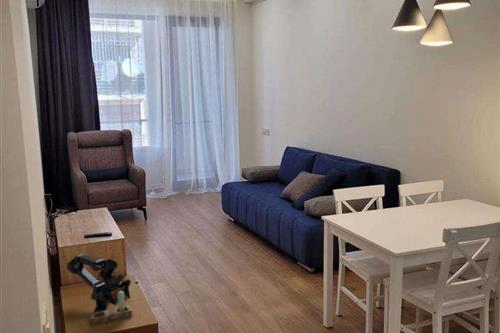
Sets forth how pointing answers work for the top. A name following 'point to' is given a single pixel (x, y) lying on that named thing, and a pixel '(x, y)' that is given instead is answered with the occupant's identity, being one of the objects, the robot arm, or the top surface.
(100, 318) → the brown slotted board
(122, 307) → the post
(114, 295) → the tin
